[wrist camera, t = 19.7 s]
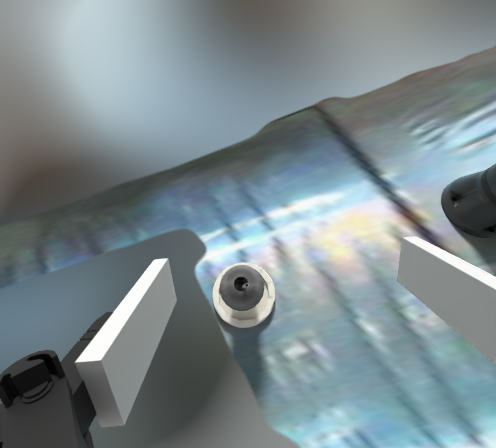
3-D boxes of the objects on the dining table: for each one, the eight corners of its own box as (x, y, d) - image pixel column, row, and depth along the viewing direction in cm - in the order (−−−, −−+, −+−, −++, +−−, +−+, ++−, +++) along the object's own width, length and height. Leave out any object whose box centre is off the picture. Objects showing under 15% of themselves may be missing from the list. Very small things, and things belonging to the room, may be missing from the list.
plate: (287, 300, 49) (289, 299, 47) (237, 342, 46) (236, 343, 45) (250, 251, 53) (250, 249, 51) (201, 287, 50) (199, 286, 49)
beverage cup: (242, 269, 51) (237, 240, 32) (268, 292, 49) (279, 275, 31) (218, 295, 49) (199, 281, 30) (245, 320, 47) (242, 322, 29)
